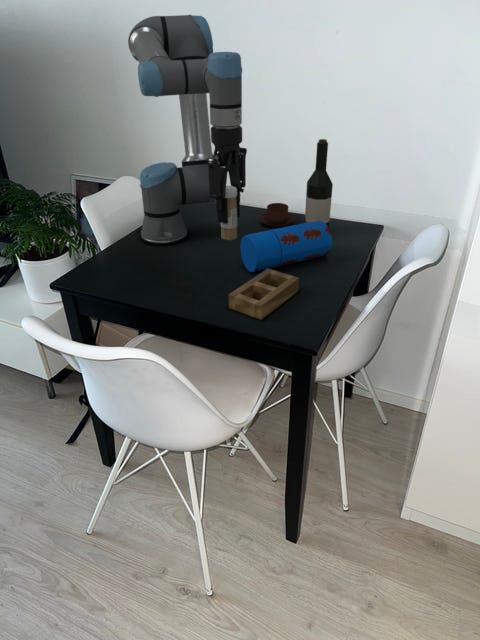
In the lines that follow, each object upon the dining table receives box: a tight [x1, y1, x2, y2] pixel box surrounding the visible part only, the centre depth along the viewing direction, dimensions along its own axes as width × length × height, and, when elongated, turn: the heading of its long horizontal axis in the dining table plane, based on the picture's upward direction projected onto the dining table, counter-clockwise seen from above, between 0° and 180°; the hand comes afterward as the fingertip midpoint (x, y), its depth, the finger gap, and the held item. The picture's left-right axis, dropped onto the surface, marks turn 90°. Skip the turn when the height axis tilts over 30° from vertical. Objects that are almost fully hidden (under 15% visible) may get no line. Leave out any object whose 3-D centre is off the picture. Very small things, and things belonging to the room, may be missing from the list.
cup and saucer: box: [259, 202, 295, 228], centre depth 177 cm, size 12×12×6 cm
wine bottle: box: [304, 138, 334, 229], centre depth 164 cm, size 8×8×30 cm
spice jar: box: [220, 185, 238, 241], centre depth 132 cm, size 5×5×14 cm
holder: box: [228, 268, 300, 321], centre depth 133 cm, size 10×18×4 cm, turn 144°
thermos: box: [239, 221, 333, 273], centre depth 149 cm, size 11×11×25 cm
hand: (228, 219), depth 133 cm, fingers closed on spice jar, 5 cm apart
